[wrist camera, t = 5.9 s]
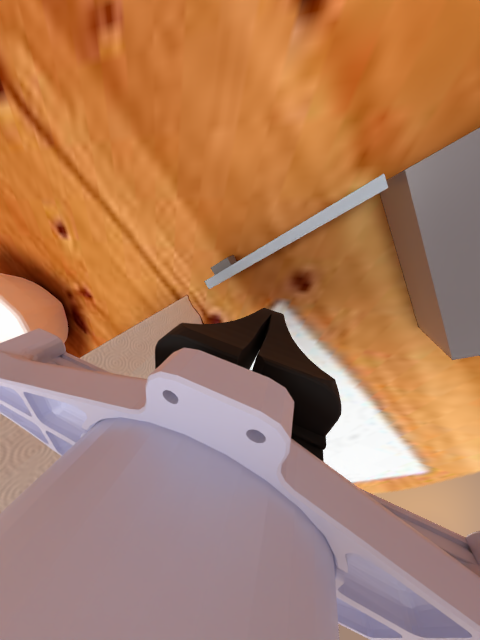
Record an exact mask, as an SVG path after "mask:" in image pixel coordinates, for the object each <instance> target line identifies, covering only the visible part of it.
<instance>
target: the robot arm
mask: <svg viewBox="0 0 480 640" xmlns="http://www.w3.org/2000/svg"><path fill="white" fill-rule="evenodd" d="M259 350H260V351H259ZM258 352H259V353H258ZM257 354H258V355H257ZM256 356H257V358H256ZM255 358H256V361H255V364H254V367H253V370H252V371H251V370H249V369H250V367H251V365H252V363H253V361H254V360H255ZM0 414H2V415H4V416H5V417H7V418H8V419H10V420H11V421H13V422H14V423H16V424H17V425H19V426H20V427H22V428H23V429H25V430H26V431H27V432H29V433H30V434H32V435H33V436H34V437H36V438H37V439H39V440H40V441H41V442H43V443H44V444H45V445H47V446H48V447H50V448H51V449H52V450H54V451H55V452H56V453H58V454H59V455H61V457H60V458H59V459H58V460H57V461H56V462H55V463H54V464H53V465H52V466H51V467H49V468H48V469H47V470H46V471H45V472H44V473H43V474H42V475H41V476H40V477H39V478H38V479H37V480H36V481H35V482H33V483H32V484H31V485H30V486H29V487H28V488H27V489H26V490H25V491H24V492H23V493H22V494H21V495H20V496H19V497H17V498H16V499H15V500H14V501H13V502H12V503H11V504H10V505H9V506H8V507H7V508H6V509H5V510H4V511H2V512H1V513H0V640H339V629H338V624H340V625H342V626H344V627H346V628H348V629H350V630H352V631H354V632H356V633H358V634H360V635H362V636H364V637H366V638H368V639H370V640H480V531H476V532H473V533H471V534H469V535H468V536H467V537H466V538H465V537H463V536H461V535H459V534H457V533H454V532H452V531H450V530H448V529H446V528H444V527H442V526H439V525H437V524H435V523H433V522H431V521H429V520H427V519H424V518H422V517H420V516H418V515H416V514H413V513H411V512H409V511H407V510H405V509H403V508H401V507H399V506H396V505H394V504H392V503H390V502H388V501H385V500H383V499H381V498H379V497H377V496H375V495H373V494H371V493H368V492H366V491H364V490H362V489H360V488H358V487H357V486H355V485H354V484H353V483H351V482H350V481H349V480H347V479H346V478H344V477H343V476H342V475H340V474H339V473H338V472H336V471H335V470H334V469H332V468H331V467H329V466H328V465H327V464H325V463H324V462H323V450H324V449H325V447H326V437H325V436H326V435H327V433H328V432H329V431H330V430H331V428H332V427H333V426H334V424H335V423H336V422H337V421H338V419H339V417H340V415H341V401H340V396H339V392H338V388H337V385H336V381H335V379H333V378H332V377H331V376H329V375H328V374H326V373H325V372H324V371H322V370H321V369H320V368H318V367H317V366H316V365H315V364H314V363H313V362H312V361H310V360H309V359H308V358H307V357H306V355H305V354H304V353H303V352H302V351H301V350H300V349H299V347H298V346H297V345H296V343H295V342H294V340H293V339H292V337H291V335H290V333H289V331H288V328H287V326H286V323H285V319H284V315H283V314H281V313H278V312H275V311H272V310H269V309H266V308H263V309H261V310H259V311H257V312H255V313H253V314H251V315H249V316H246V317H244V318H241V319H238V320H235V321H230V322H225V323H217V324H192V323H180V324H179V325H178V326H176V327H175V328H173V329H172V330H171V331H170V332H168V333H167V334H166V335H165V336H163V337H162V338H161V339H160V340H158V342H157V344H156V346H155V370H154V371H153V372H152V373H151V374H150V375H149V376H148V379H144V378H137V377H131V376H125V375H118V374H112V373H110V372H108V371H106V370H103V369H101V368H99V367H97V366H95V365H93V364H91V363H88V362H86V361H84V360H82V359H80V358H78V357H75V356H73V355H71V354H69V353H67V352H66V348H65V344H64V342H63V341H62V340H61V338H59V337H58V336H56V335H54V334H52V333H50V332H47V331H45V330H43V329H40V328H38V329H35V330H33V331H30V332H28V333H25V334H22V335H20V336H17V337H15V338H12V339H9V340H7V341H4V342H2V343H0Z"/></svg>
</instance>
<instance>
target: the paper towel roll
mask: <svg viewBox="0 0 480 640" xmlns="http://www.w3.org/2000/svg"><path fill="white" fill-rule="evenodd" d="M180 323H192V324H202V321H201V318H200V316H199V314H198V313H197V312H196V311H195V309H194V308H193V307H192V305H191V303H190V301H189V299H188V295H186V296H185V297H183V298H181V299H180V300H178V301H176V302H174V303H173V304H171V305H169V306H168V307H166V308H164V309H163V310H161V311H159V312H157V313H156V314H154V315H152V316H151V317H149V318H147V319H145V320H144V321H142V322H140V323H139V324H137V325H135V326H133V327H132V328H130V329H128V330H127V331H125V332H123V333H121V334H120V335H118V336H116V337H115V338H113V339H111V340H109V341H108V342H106V343H104V344H103V345H101V346H99V347H97V348H96V349H94V350H92V351H91V352H89V353H87V354H85V355H84V356H82V357H80V359H82V360H84V361H86V362H88V363H91V364H93V365H95V366H97V367H99V368H101V369H103V370H106V371H108V372H110V373H112V374H118V375H125V376H131V377H137V378H144V379H148V376H149V375H150V374H151V373H152V372H153V371H154V370H155V346H156V344H157V342H158V340H160V339H161V338H162V337H163V336H165V335H166V334H167V333H168V332H170V331H171V330H172V329H173V328H175V327H176V326H178V325H179V324H180ZM60 457H61V455H59V454H58V453H56V452H55V451H54V450H52V449H51V448H50V447H48V446H47V445H45V444H44V443H43V442H41V441H40V440H39V439H37V438H36V437H34V436H33V435H32V434H30V433H29V432H27V431H26V430H25V429H23V428H22V427H20V426H19V425H17V424H16V423H14V422H13V421H11V420H10V419H8V418H7V417H5V416H4V415H2V414H0V513H1V512H2V511H4V510H5V509H6V508H7V507H8V506H9V505H10V504H11V503H12V502H13V501H14V500H15V499H16V498H17V497H19V496H20V495H21V494H22V493H23V492H24V491H25V490H26V489H27V488H28V487H29V486H30V485H31V484H32V483H33V482H35V481H36V480H37V479H38V478H39V477H40V476H41V475H42V474H43V473H44V472H45V471H46V470H47V469H48V468H49V467H51V466H52V465H53V464H54V463H55V462H56V461H57V460H58V459H59V458H60Z"/></svg>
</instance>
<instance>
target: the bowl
mask: <svg viewBox="0 0 480 640" xmlns="http://www.w3.org/2000/svg"><path fill="white" fill-rule="evenodd" d="M38 328H40V329H43V330H45V331H47V332H50V333H52V334H54V335H56V336H58V337H59V338H61V340H62V341H63V342H64V343H65V341H66V340H67V336H68V322H67V318H66V314H65V311H64V308H63V305H62V303H61V302H60V301H59V300H58V299H57V298H55V297H54V296H53V295H52V294H50V293H49V292H48V291H47V290H45V289H44V288H42V287H41V286H39V285H38V284H36V283H34V282H32V281H29V280H27V279H24V278H22V277H17V276H12V275H8V274H3V273H0V343H2V342H4V341H7V340H9V339H12V338H15V337H17V336H20V335H22V334H25V333H28V332H30V331H33V330H35V329H38Z"/></svg>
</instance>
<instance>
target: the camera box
mask: <svg viewBox="0 0 480 640" xmlns="http://www.w3.org/2000/svg"><path fill="white" fill-rule="evenodd" d="M386 182H387V185H388V188H387V189H385V190H384V191H382V192H380V196H381V200H382V203H383V206H384V210H385V213H386V217H387V220H388V224H389V227H390V231H391V234H392V237H393V241H394V244H395V248H396V251H397V255H398V258H399V261H400V265H401V268H402V272H403V275H404V279H405V282H406V286H407V289H408V292H409V296H410V299H411V303H412V306H413V310H414V313H415V317H416V320H417V323H418V327H419V328H420V329H421V330H422V331H423V332H424V333H425V334H426V335H427V336H428V337H429V338H430V339H431V340H432V341H433V342H434V343H435V344H436V345H437V346H439V347H440V348H441V349H442V350H443V351H444V352H445V353H446V354H447V355H448V356H449V357H450V358H451V359H452V360H455V359H461V358H467V357H473V356H480V128H478V129H476V130H474V131H473V132H471V133H469V134H467V135H466V136H464V137H462V138H460V139H459V140H457V141H455V142H453V143H452V144H450V145H448V146H446V147H444V148H443V149H441V150H439V151H437V152H436V153H434V154H432V155H430V156H429V157H427V158H425V159H423V160H422V161H420V162H418V163H416V164H414V165H413V166H411V167H409V168H407V169H406V170H404V171H402V172H400V173H399V174H397V175H395V176H393V177H392V178H390V179H388V180H386Z"/></svg>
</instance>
